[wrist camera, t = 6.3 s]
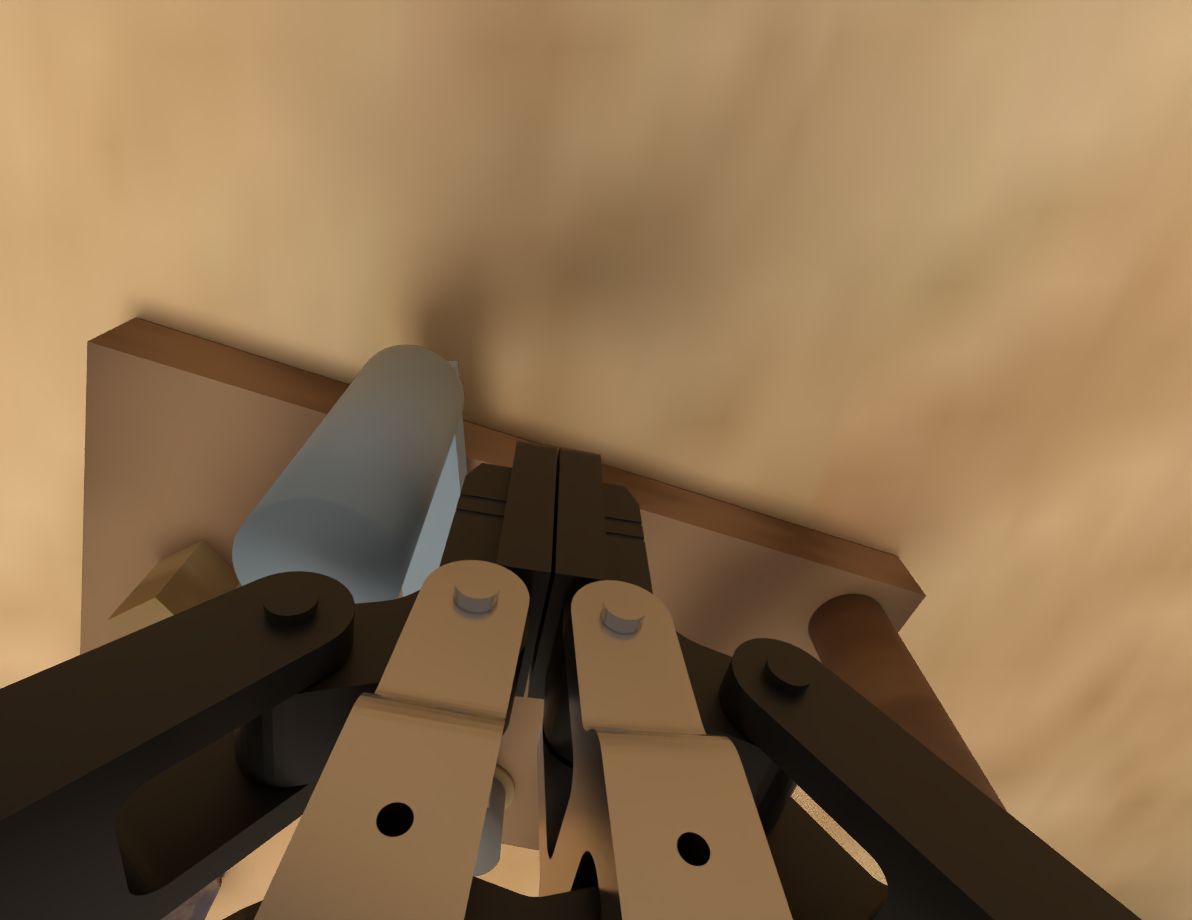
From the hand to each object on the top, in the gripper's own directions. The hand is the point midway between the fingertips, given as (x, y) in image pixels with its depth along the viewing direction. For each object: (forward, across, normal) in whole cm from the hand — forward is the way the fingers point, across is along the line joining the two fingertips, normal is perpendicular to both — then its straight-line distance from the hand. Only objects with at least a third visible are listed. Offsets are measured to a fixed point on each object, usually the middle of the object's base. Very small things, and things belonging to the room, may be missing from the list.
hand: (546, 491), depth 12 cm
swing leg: (+5, +2, +8) cm, 10 cm away
